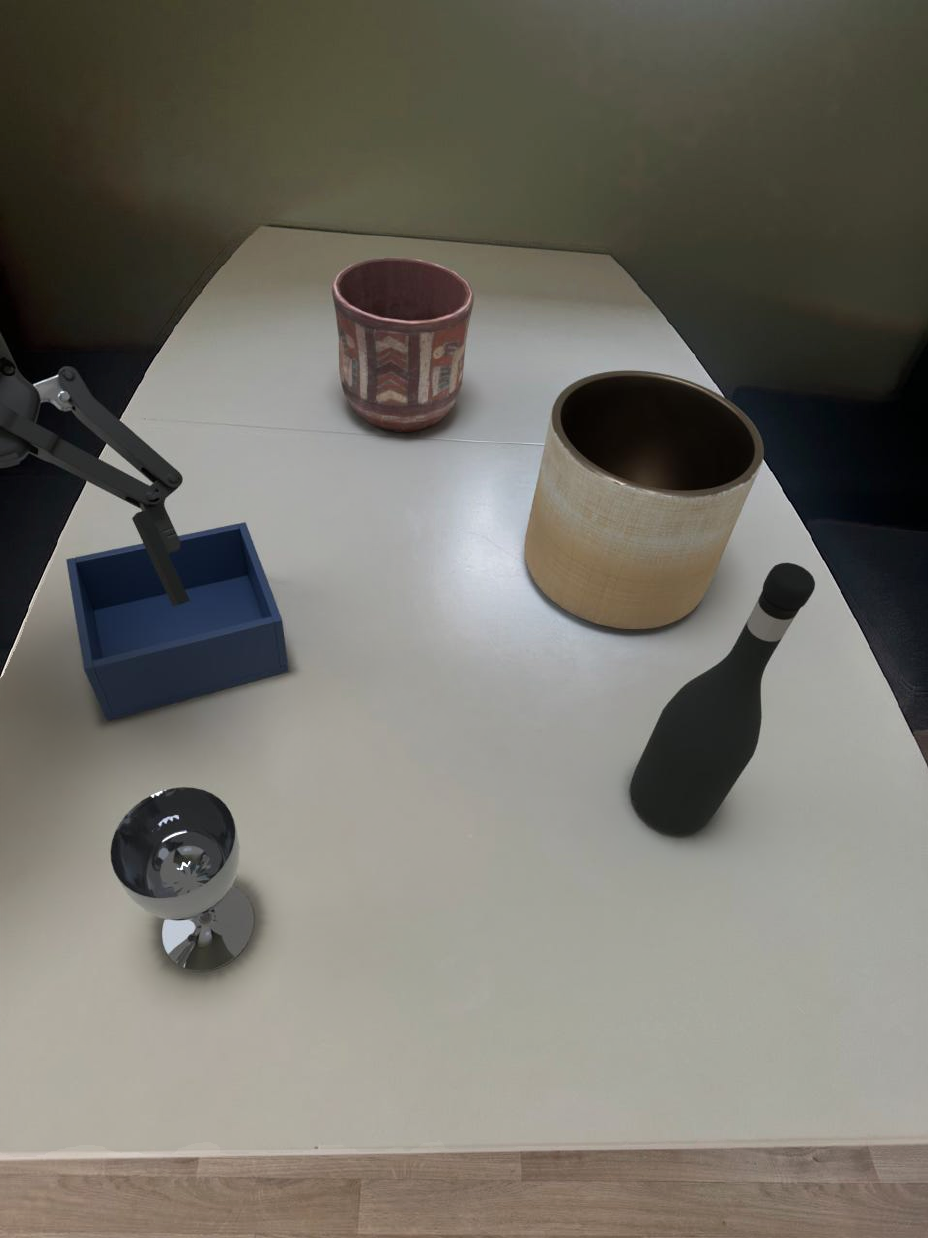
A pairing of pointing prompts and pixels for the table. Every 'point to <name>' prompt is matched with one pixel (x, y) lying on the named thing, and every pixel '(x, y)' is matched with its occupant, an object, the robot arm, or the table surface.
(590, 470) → the planter
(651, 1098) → the table surface
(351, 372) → the pottery
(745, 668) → the wine bottle
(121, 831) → the wine glass
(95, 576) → the bin
